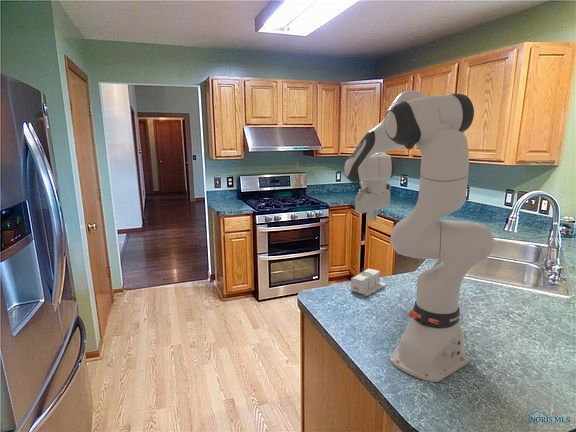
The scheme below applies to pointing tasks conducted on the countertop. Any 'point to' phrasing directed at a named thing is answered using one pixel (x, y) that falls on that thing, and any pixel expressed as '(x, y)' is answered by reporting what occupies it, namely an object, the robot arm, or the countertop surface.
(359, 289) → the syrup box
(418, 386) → the countertop surface
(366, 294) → the cream flat rectangular slab
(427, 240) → the robot arm
